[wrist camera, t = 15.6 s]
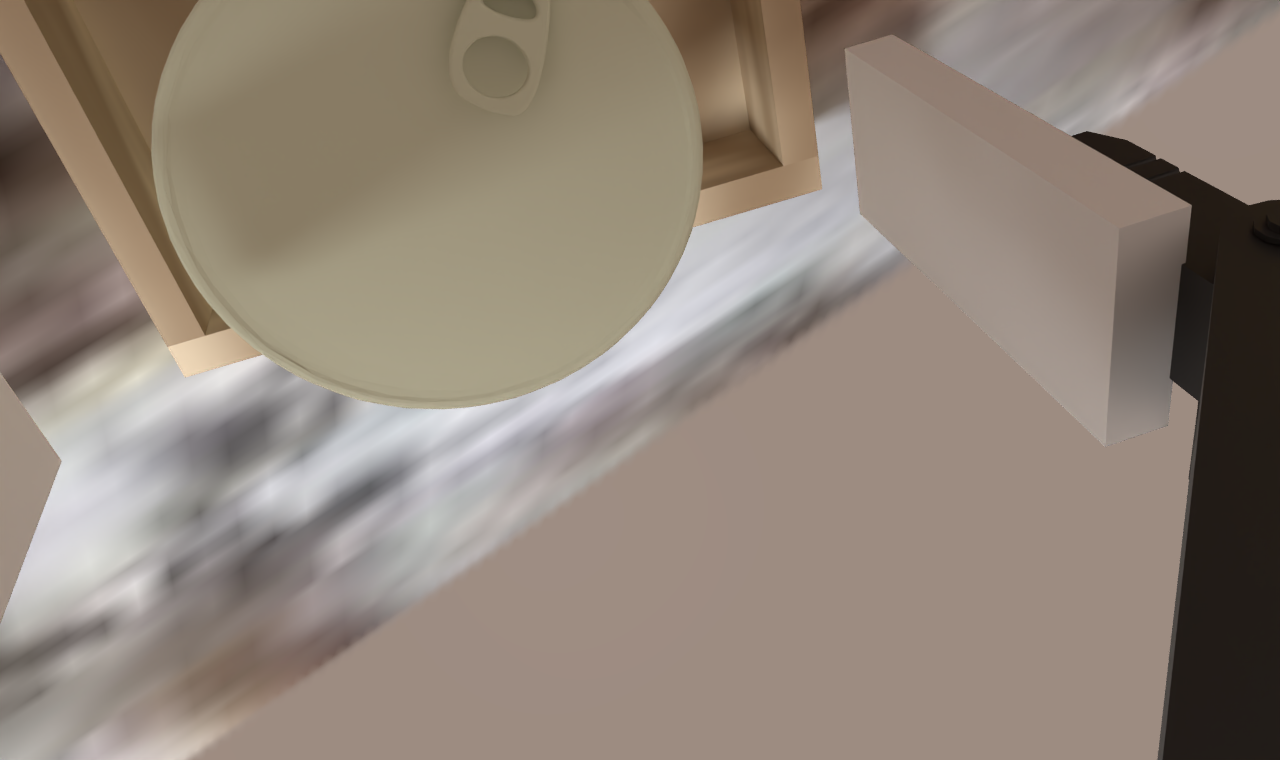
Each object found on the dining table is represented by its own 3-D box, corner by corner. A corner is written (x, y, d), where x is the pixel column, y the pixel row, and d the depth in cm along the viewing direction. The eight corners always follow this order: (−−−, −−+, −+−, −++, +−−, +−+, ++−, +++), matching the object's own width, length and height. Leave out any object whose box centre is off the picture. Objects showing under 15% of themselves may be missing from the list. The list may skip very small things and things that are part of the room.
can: (645, -96, 27) (806, 25, 17) (528, 222, 31) (602, 468, 21) (273, -254, 23) (202, -220, 13) (196, 128, 27) (98, 369, 17)
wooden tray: (204, 306, 31) (185, 377, 28) (-50, -173, 24) (-118, -155, 20) (775, 140, 32) (822, 189, 29) (704, -368, 25) (755, -380, 21)
